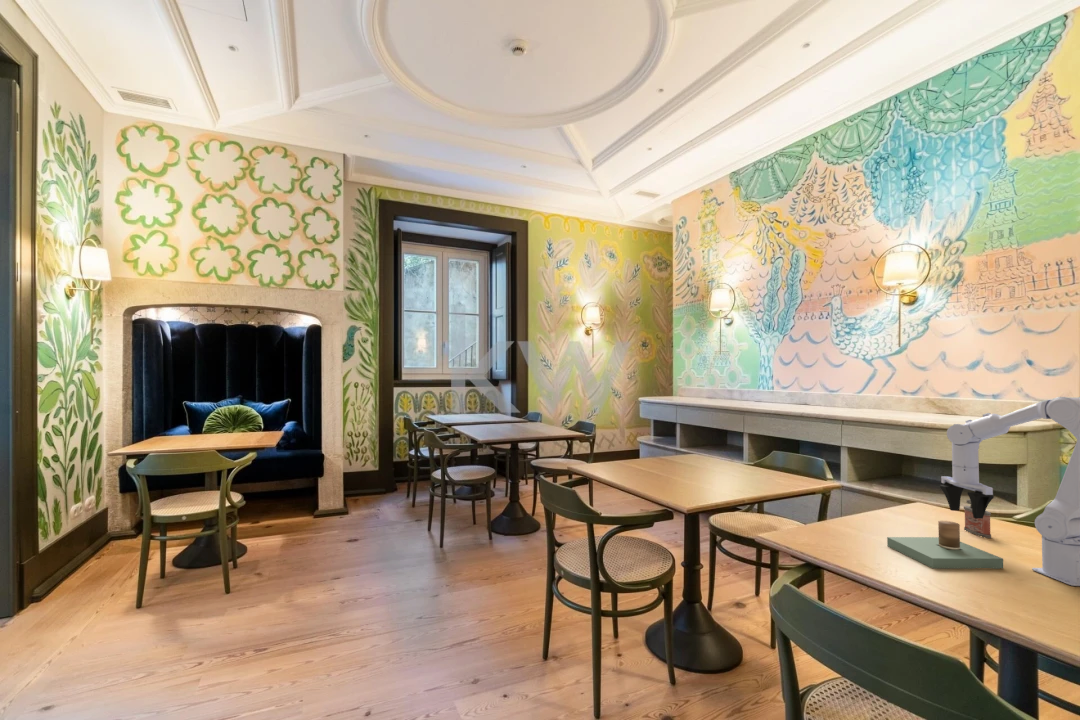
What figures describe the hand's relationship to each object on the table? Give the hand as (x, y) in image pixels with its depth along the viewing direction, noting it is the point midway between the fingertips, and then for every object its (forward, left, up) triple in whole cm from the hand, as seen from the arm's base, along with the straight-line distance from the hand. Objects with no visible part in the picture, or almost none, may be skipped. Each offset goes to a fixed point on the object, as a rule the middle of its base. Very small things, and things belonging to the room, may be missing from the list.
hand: (966, 514), depth 139 cm
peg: (-7, +11, -9) cm, 16 cm away
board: (-7, +13, -9) cm, 18 cm away
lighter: (+12, -14, -10) cm, 21 cm away
